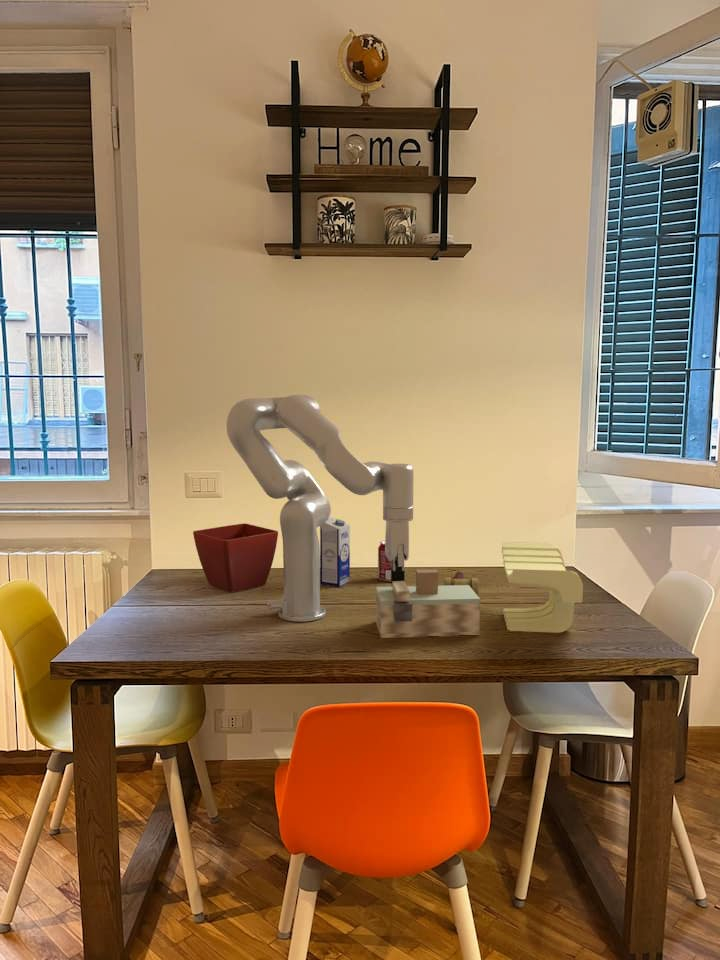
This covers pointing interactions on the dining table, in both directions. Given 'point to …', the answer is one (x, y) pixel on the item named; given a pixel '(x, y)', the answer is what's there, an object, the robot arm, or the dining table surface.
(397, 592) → the bar
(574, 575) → the slatted curved stool
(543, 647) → the dining table surface
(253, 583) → the plant pot
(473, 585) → the gavel
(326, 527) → the milk carton
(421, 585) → the lid
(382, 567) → the soda can
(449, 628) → the toolbox
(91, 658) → the dining table surface
